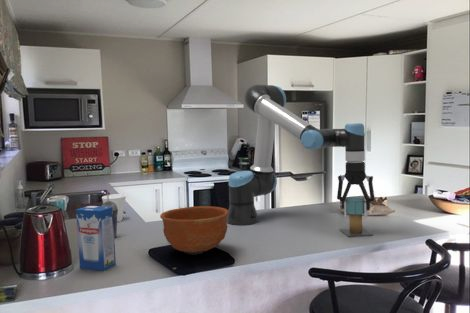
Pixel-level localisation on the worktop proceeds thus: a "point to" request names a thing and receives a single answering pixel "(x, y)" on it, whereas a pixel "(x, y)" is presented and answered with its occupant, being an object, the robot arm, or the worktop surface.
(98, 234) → the milk carton
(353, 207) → the cap
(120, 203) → the cup
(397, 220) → the worktop surface
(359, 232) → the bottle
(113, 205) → the grey bottle
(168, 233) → the bowl
